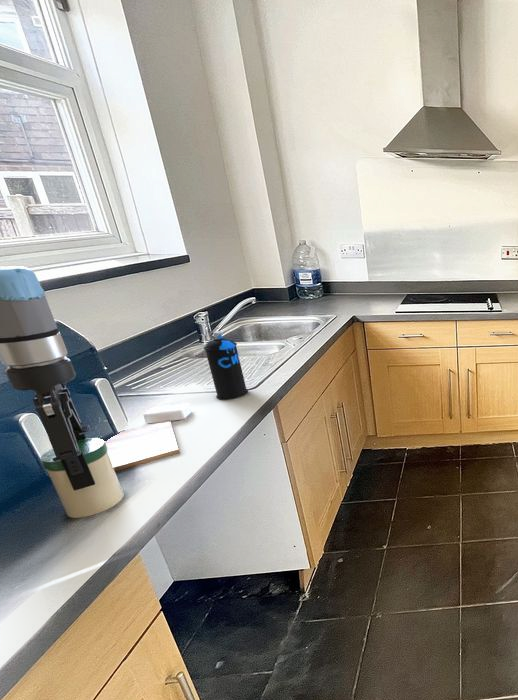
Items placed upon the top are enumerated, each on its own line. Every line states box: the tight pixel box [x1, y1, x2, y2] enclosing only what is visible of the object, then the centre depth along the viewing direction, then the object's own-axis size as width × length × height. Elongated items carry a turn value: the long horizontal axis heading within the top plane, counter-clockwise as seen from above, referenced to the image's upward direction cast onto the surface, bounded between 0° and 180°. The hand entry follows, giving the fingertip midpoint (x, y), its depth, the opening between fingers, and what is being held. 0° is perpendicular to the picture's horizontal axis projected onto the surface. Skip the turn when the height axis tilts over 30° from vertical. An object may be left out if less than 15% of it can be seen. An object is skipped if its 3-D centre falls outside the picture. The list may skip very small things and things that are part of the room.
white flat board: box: [105, 420, 181, 472], centre depth 99 cm, size 20×14×1 cm
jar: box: [46, 452, 125, 519], centre depth 77 cm, size 8×8×12 cm
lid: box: [40, 437, 108, 471], centre depth 76 cm, size 8×8×2 cm
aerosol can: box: [203, 330, 249, 401], centre depth 125 cm, size 8×8×20 cm
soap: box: [143, 402, 192, 425], centre depth 113 cm, size 9×6×3 cm, turn 107°
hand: (85, 475), depth 77 cm, fingers closed on lid, 8 cm apart
